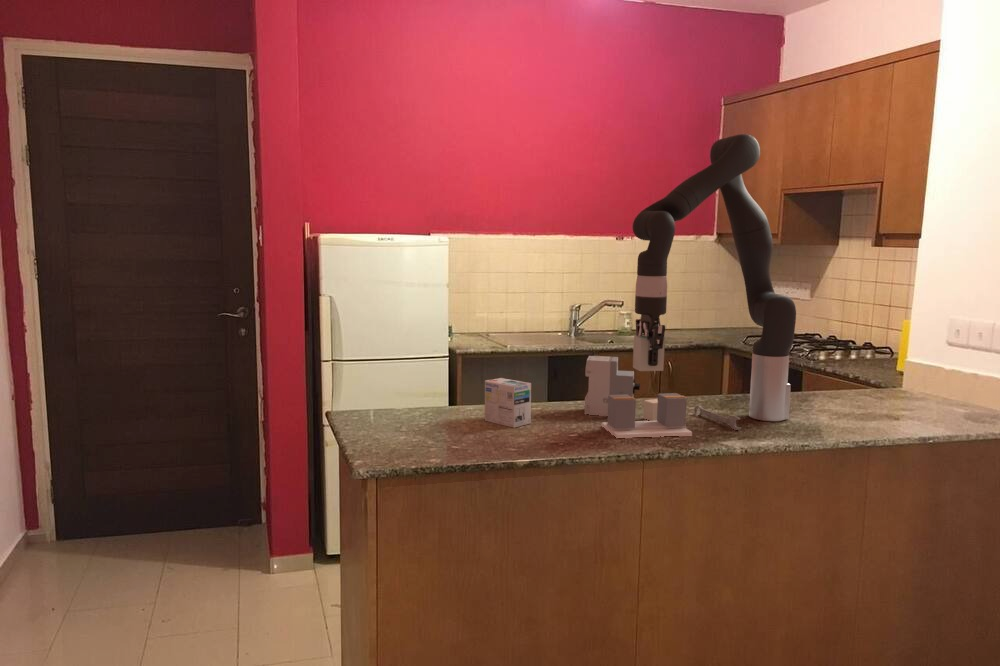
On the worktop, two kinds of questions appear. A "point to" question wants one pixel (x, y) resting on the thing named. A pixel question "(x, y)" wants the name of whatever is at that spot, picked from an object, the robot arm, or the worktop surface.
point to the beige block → (650, 409)
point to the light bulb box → (508, 402)
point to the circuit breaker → (606, 383)
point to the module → (646, 355)
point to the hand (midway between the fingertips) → (648, 363)
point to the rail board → (667, 423)
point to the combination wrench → (719, 417)
